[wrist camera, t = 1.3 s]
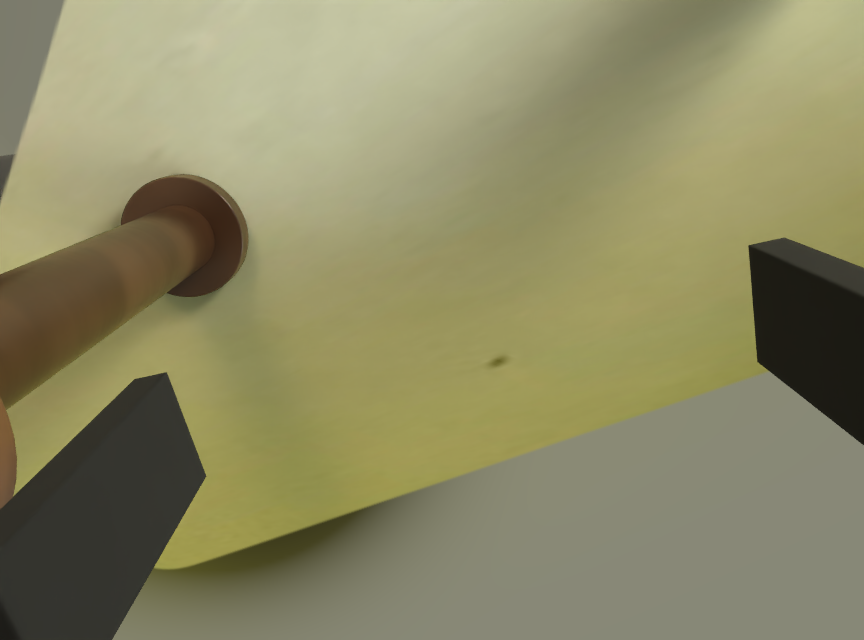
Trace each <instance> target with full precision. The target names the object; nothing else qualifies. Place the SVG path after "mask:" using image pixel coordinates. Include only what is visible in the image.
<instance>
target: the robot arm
mask: <svg viewBox="0 0 864 640" xmlns="http://www.w3.org/2000/svg"><path fill="white" fill-rule="evenodd" d="M749 257H750V270H751V283H752V296H753V310H754V323H755V336H756V349H757V362H759V363H760V364H761V365H762V366H764V367H765V368H766V369H767V370H769V371H770V372H771V373H773V374H774V375H775V376H776V377H778V378H779V379H780V380H781V381H783V382H784V383H785V384H786V385H788V386H789V387H790V388H792V389H793V390H794V391H795V392H797V393H798V394H799V395H800V396H802V397H803V398H804V399H806V400H807V401H808V402H809V403H811V404H812V405H813V406H814V407H816V408H817V409H818V410H820V411H821V412H822V413H823V414H825V415H826V416H827V417H829V418H830V419H831V420H832V421H834V422H835V423H836V424H837V425H839V426H840V427H841V428H842V429H844V430H845V431H846V432H848V433H849V434H850V435H851V436H853V437H854V438H855V439H856V440H858V441H859V442H860V443H861V444H863V445H864V268H862V267H860V266H857V265H855V264H852V263H849V262H847V261H844V260H842V259H839V258H836V257H834V256H831V255H829V254H826V253H823V252H821V251H818V250H815V249H813V248H810V247H808V246H805V245H802V244H800V243H797V242H795V241H792V240H789V239H787V238H780V239H776V240H771V241H767V242H762V243H757V244H753V245H749ZM205 477H206V474H205V472H204V469H203V467H202V464H201V461H200V459H199V456H198V453H197V451H196V448H195V445H194V443H193V440H192V438H191V435H190V432H189V430H188V427H187V424H186V422H185V419H184V416H183V414H182V411H181V409H180V406H179V403H178V401H177V398H176V395H175V393H174V390H173V388H172V385H171V382H170V380H169V377H168V374H167V372H166V373H161V374H156V375H152V376H147V377H143V378H138V379H134V380H133V381H132V382H131V383H130V384H129V385H128V386H127V387H126V388H125V389H124V390H123V391H122V392H121V393H120V394H119V395H118V396H117V397H116V398H115V399H114V400H113V401H112V402H111V403H110V404H109V405H108V406H106V407H105V408H104V409H103V410H102V411H101V412H100V413H99V414H98V415H97V416H96V417H95V418H94V419H93V420H92V421H91V422H90V423H89V424H88V425H87V426H86V427H85V428H84V429H83V430H82V431H81V432H80V433H79V434H78V435H77V436H76V437H74V438H73V439H72V440H71V441H70V442H69V443H68V444H67V445H66V446H65V447H64V448H63V449H62V450H61V451H60V452H59V453H58V454H57V455H56V456H55V457H54V458H53V459H52V460H51V461H50V462H49V463H48V464H47V465H46V466H45V467H44V468H42V469H41V470H40V471H39V472H38V473H37V474H36V475H35V476H34V477H33V478H32V479H31V480H30V481H29V482H28V483H27V484H26V485H25V486H24V487H23V488H22V489H21V490H20V491H19V492H18V493H17V494H16V495H15V496H14V497H13V498H12V499H11V500H9V501H8V502H7V503H6V504H5V505H4V506H3V507H2V508H1V509H0V640H112V639H113V637H114V635H115V634H116V632H117V630H118V628H119V627H120V625H121V623H122V621H123V620H124V618H125V616H126V614H127V613H128V611H129V609H130V607H131V606H132V604H133V602H134V600H135V599H136V597H137V595H138V593H139V592H140V590H141V588H142V587H143V585H144V583H145V582H146V580H147V578H148V576H149V574H150V573H151V571H152V569H153V568H154V566H155V564H156V562H157V561H158V559H159V557H160V556H161V554H162V552H163V550H164V549H165V547H166V545H167V543H168V542H169V540H170V538H171V536H172V535H173V533H174V531H175V529H176V528H177V526H178V524H179V523H180V521H181V519H182V517H183V516H184V514H185V512H186V510H187V509H188V507H189V505H190V503H191V502H192V500H193V498H194V497H195V495H196V493H197V491H198V490H199V488H200V486H201V484H202V483H203V481H204V479H205Z"/></svg>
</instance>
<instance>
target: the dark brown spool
mask: <svg viewBox="0 0 864 640" xmlns="http://www.w3.org/2000/svg"><path fill="white" fill-rule="evenodd" d="M247 249H248V230H247V225H246V221H245V219H244V216H243V214H242V212H241V210H240V208H239V206H238V205H237V203H236V202H235V201H234V199H233V198H232V197H231V196H230V195H229V194H228V193H227V192H226V191H225V190H223V189H222V188H221V187H219V186H218V185H216V184H215V183H213V182H211V181H209V180H207V179H204V178H201V177H198V176H194V175H186V174H179V175H171V176H166V177H163V178H159V179H156V180H154V181H151V182H149V183H147V184H145V185H144V186H142V187H141V188H140V189H139V190H137V191H136V192H135V193H134V194H133V196H132V197H131V198H130V200H129V201H128V203H127V205H126V207H125V209H124V212H123V215H122V219H121V226H118V227H116V228H113V229H111V230H108V231H106V232H104V233H101V234H99V235H96V236H94V237H91V238H89V239H86V240H84V241H81V242H79V243H76V244H74V245H72V246H69V247H67V248H64V249H62V250H59V251H57V252H54V253H52V254H49V255H47V256H45V257H42V258H40V259H37V260H35V261H32V262H30V263H27V264H25V265H22V266H20V267H17V268H15V269H13V270H10V271H8V272H5V273H3V274H0V509H1V508H2V507H3V506H4V505H5V504H6V503H7V502H8V501H9V500H11V499H12V498H13V494H14V489H15V484H16V474H17V455H16V447H15V439H14V435H13V431H12V427H11V424H10V420H9V416H8V414H7V411H6V410H7V409H8V408H10V407H11V406H12V405H14V404H15V403H16V402H18V401H19V400H21V399H22V398H23V397H25V396H26V395H27V394H29V393H30V392H31V391H33V390H34V389H36V388H37V387H38V386H40V385H41V384H42V383H44V382H45V381H47V380H48V379H49V378H51V377H52V376H53V375H55V374H56V373H57V372H59V371H60V370H62V369H63V368H64V367H66V366H67V365H68V364H70V363H71V362H72V361H74V360H75V359H77V358H78V357H79V356H81V355H82V354H83V353H85V352H86V351H88V350H89V349H90V348H92V347H93V346H94V345H96V344H97V343H98V342H100V341H101V340H103V339H104V338H105V337H107V336H108V335H109V334H111V333H112V332H113V331H115V330H116V329H118V328H119V327H120V326H122V325H123V324H124V323H126V322H127V321H129V320H130V319H131V318H133V317H134V316H135V315H137V314H138V313H139V312H141V311H142V310H144V309H145V308H146V307H148V306H149V305H150V304H152V303H153V302H154V301H156V300H157V299H159V298H160V297H161V296H163V295H164V294H165V293H169V294H172V295H176V296H183V297H196V296H201V295H205V294H208V293H211V292H213V291H215V290H217V289H219V288H220V287H222V286H223V285H224V284H225V283H227V282H228V281H229V280H230V279H231V278H232V277H233V276H234V275H235V274H236V273H237V272H238V271H239V269H240V267H241V266H242V264H243V262H244V260H245V257H246V253H247Z"/></svg>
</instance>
